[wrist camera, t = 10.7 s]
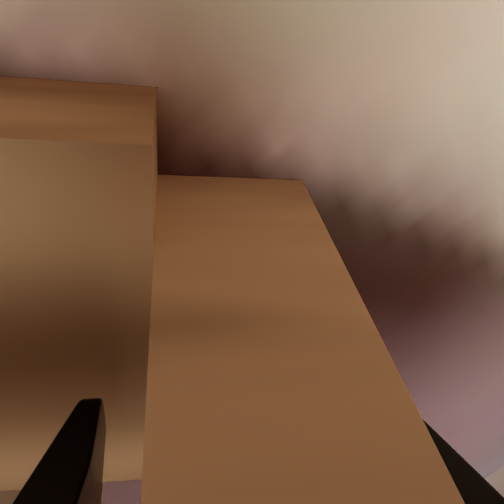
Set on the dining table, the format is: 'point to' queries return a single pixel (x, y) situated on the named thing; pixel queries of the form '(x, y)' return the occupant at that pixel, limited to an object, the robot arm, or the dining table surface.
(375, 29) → the dining table surface
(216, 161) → the dining table surface
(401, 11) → the dining table surface
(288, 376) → the stepped wooden corner piece
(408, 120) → the dining table surface
